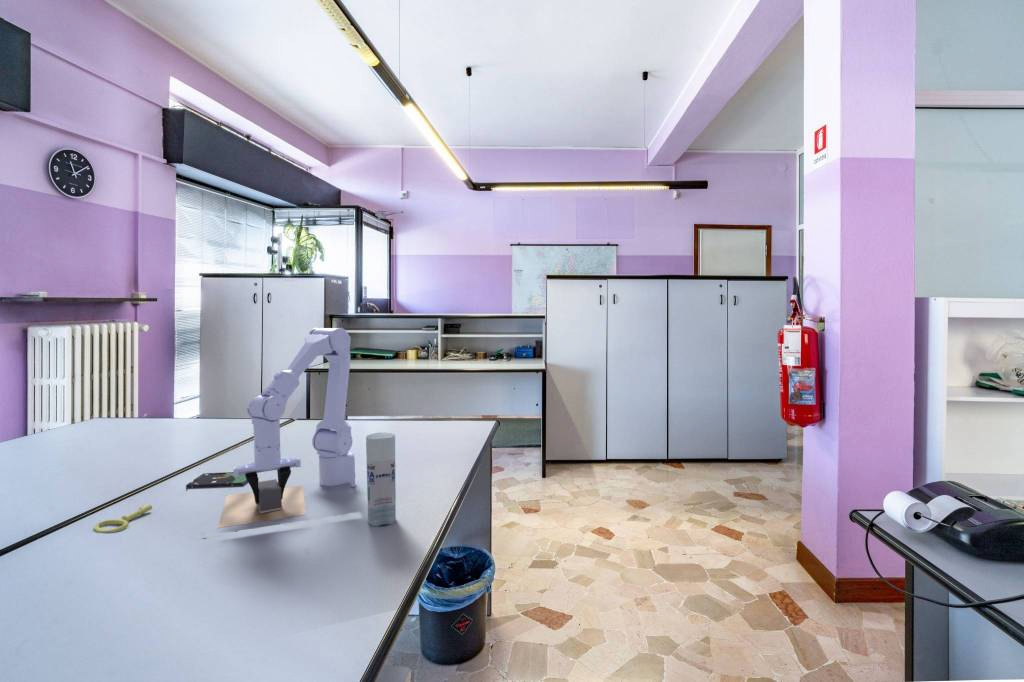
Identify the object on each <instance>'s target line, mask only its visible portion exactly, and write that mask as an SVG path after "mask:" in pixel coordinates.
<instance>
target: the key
mask: <svg viewBox="0 0 1024 682" xmlns="http://www.w3.org/2000/svg"><path fill="white" fill-rule="evenodd" d="M151 510H153V506H152V505H151V504H148V505H142V506H140V507H138V510H137V511H134V512H132V513H130V514H129V515H122V516H121V518H119V519H118V518H115V519H106V520H102V521H100V522H98V523H96V524H95V525H94V526H93V531H94V532H97V533H100V534H101V533H102V534H107V533H106V532H112V533H116V532H115V531H118V532H120V531H119V530H122V531H124V530H126V529H128V528H129V523H130V521H131V520H133V519H135V518H137V517H139V516H141V515H143V514H145V513H147V512H149V511H151ZM129 520H130V521H129ZM108 524H112V525H115V524H121V525H120V526H119V527H118V526H117V527H115V528H110V529H105V528H101V527H104V526H109V525H108ZM127 527H128V528H127ZM125 528H126V529H125ZM123 529H124V530H123Z"/></svg>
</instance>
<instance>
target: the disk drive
mask: <svg viewBox="0 0 1024 682" xmlns="http://www.w3.org/2000/svg"><path fill="white" fill-rule="evenodd" d="M247 484H249V483H248V481H247V479H246V477H245V475H240V476H238V477H234V471H230V472H206V473H202V474H200V475H199V476H198V477H196V478H195V479H193V481H192V482H191V481H190V482H189V483H187V484H186V485H185V490H186V492H187V491H188V489H201V488H203V489H204V488H205V489H206V488H223V487H224V488H225V487H244V486H245V485H247Z"/></svg>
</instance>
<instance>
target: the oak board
mask: <svg viewBox="0 0 1024 682" xmlns="http://www.w3.org/2000/svg"><path fill="white" fill-rule="evenodd" d="M281 500H282V509H279V510H274V511H269V512H263V513H261V512H260V509H259V507H258V504H256V503H255V498H254V494H253V491H251V492H250V491H249V492H241V493H233V494H227V495H226V498H225V500H224V504H223V508H222V511H221V515H220V518H219V522H218V525H217V529H221V528H228V527H234V526H241V525H249V524H255V523H262V522H267V521H273V520H281V519H288V518H295V517H301V516H306V515H307V511H306V505H305V497H304V488H303V485H297V486H289V487H285V488H284V492H283V498H282V499H281Z"/></svg>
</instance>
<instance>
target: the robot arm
mask: <svg viewBox="0 0 1024 682" xmlns="http://www.w3.org/2000/svg"><path fill="white" fill-rule="evenodd" d="M351 340H352V337H351V336H350V334H349V333H348V331H346V329H345V328H343V327H335V328H333V327H331V328H330V327H327V328H326V327H314V328H312V329H311V330H310V331H309V332H308V334H307V335H306V336H305V337H304V344H303V345H302V346H301V348H300V350H299V351H298V353H297V354H296V356H295V357H294V359H293V360H292V362H291V363H290V364H289V366H288V368H287V369H286V370H280V371H278V372H276V373H275V374H274V375H273V379H272V380H271V381H270V383H269V384H268V385H267V387H265V389H263V390H262V391H261V394H260V395H259V394H258V396H255V397H254V398H252V399H251V401H250V403H249V404H248V407H247V408H246V411H247V414H248V417H250V418H251V424H252V427H253V449H254V450H253V453H254V457H253V458H254V459H253V461H254V462H251V463H248V464H242V465H238V466H233V472H234V477H238V476H240V475H245V477H246V479H247V481H248V483H247V484H249V486H250V488H251V490H252V492H253V494H254V498H255V503H256V504H259V493H258V482H259V477H258V474H259V473H263V472H264V473H266V472H271V471H277V482H278V484H279V485H280V487H281V499H282V498H283V492H284V488H286V485H287V482H288V481H289V480H288V479H289V478H290V476H291V473H292V470H291V468H301V467H302V466H301V463H302V462H301V458H300V457H292V458H281V456H282V455H281V453H282V452H281V426H280V419H281V417H282V416H284V414H285V412H286V405H287V404H288V400H289V399H290V397H291V396H292V395H293V393H294V392H295V391H296V390H297V388H298V387H299V385H300V379H299V378H300V376H302V374H303V373H304V372H305V371H306V370H307V369H308V368H309V367H310V365H312V363H313V362H314V361H315V360H316V358H317V357H319V356H323V357H324V358H325V359H326V360H327V361H328V363H329V364H328V365H329V367H328V373H327V386H326V395H325V401H324V402H325V403H324V412H323V419H321V421H319V423H317V425H316V429H315V433H314V435H313V436H312V440H311V442H312V447H313V449H314V450H315V451H316V454H317V455H318V462H319V463H318V466H319V469H318V471H319V472H318V473H319V474H318V476H319V477H318V478H319V480H318V481H319V485H320V486H322V487H323V486H324V487H335V486H340V485H344V484H350V487H351V488H355V487H356V461H355V460H356V459H355V453H354V452H353V451H352V452H351V451H350V450H351V448H352V446H353V437H352V427H351V426H350V424H349V423H348V422H347V421H346V420H345V416H346V407H347V406H346V405H347V398H348V397H347V396H348V388H349V378H350V366H351V360H352V359H351V351H350V349H351Z"/></svg>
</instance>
